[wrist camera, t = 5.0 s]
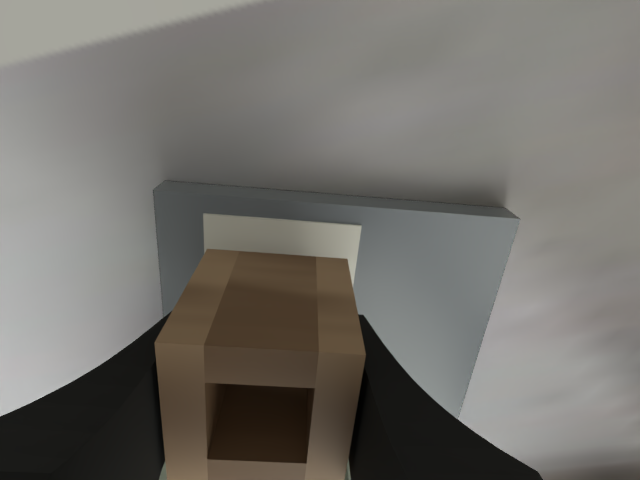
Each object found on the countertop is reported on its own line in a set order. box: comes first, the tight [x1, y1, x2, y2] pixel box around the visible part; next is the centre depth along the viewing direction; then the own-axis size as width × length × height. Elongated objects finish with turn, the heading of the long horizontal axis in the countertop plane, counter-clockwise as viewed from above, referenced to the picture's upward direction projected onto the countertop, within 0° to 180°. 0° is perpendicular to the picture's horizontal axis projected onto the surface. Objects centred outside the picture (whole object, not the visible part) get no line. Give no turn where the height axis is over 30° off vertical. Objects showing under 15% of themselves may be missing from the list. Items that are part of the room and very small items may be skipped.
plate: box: [153, 181, 520, 419], centre depth 18 cm, size 16×13×1 cm
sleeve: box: [154, 249, 366, 480], centre depth 11 cm, size 4×4×5 cm
